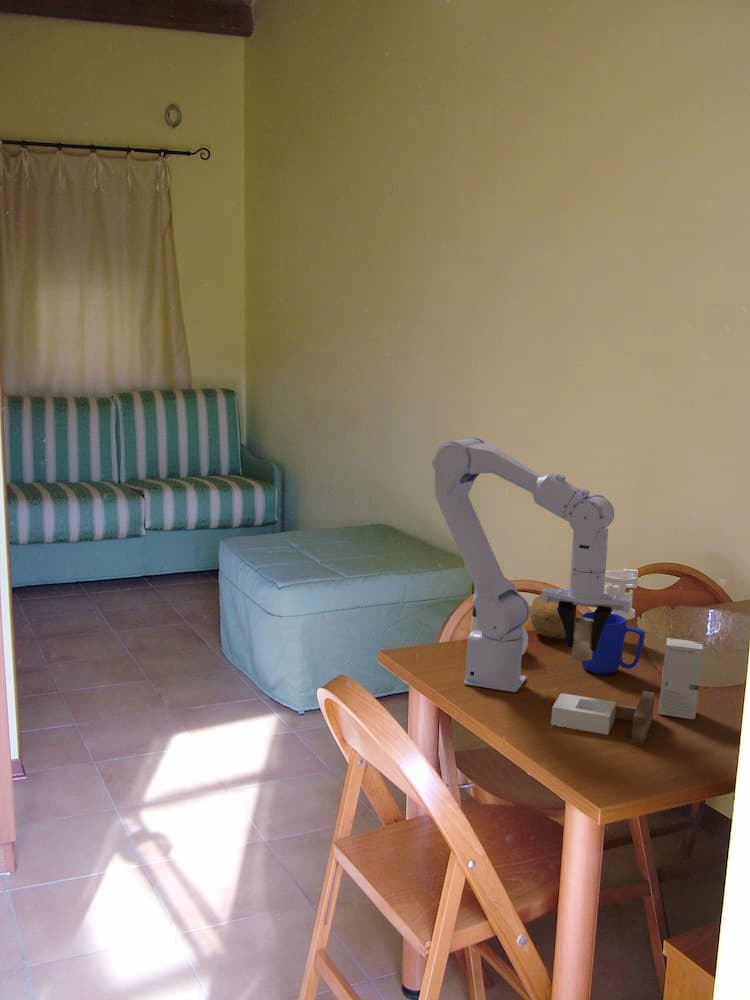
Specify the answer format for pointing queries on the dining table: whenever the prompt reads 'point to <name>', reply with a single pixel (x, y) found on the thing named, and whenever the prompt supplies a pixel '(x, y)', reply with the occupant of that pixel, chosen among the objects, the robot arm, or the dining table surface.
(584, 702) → the white pocketed block
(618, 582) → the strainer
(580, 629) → the dowel
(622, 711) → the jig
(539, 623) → the potato
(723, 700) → the dining table surface
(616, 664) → the mug
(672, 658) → the skincare box
